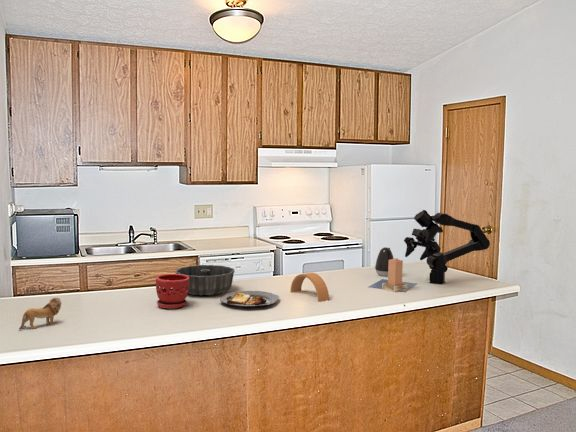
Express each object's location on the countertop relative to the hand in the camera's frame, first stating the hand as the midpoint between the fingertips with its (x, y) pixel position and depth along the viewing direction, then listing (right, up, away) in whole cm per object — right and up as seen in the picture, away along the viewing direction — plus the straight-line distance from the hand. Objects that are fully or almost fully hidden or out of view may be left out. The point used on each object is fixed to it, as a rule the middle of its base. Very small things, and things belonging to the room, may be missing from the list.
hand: (412, 258), depth 237 cm
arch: (-50, -15, -19) cm, 56 cm away
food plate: (-75, -16, -30) cm, 83 cm away
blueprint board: (-9, -14, 0) cm, 16 cm away
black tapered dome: (-9, -12, +23) cm, 27 cm away
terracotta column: (-10, -13, -8) cm, 18 cm away
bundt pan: (-97, -14, -13) cm, 99 cm away
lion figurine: (-146, -19, -62) cm, 160 cm away
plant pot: (-106, -16, -36) cm, 113 cm away
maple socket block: (-10, -14, -7) cm, 19 cm away
